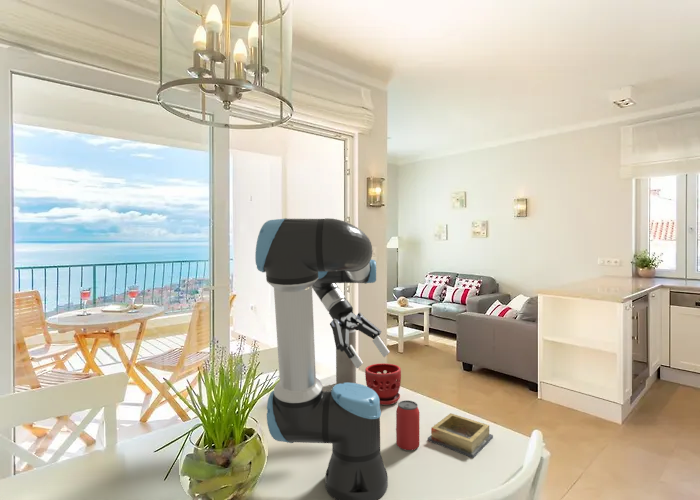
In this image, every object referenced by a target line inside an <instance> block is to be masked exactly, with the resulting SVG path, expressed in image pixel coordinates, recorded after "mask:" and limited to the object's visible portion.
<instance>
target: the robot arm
mask: <svg viewBox="0 0 700 500" xmlns="http://www.w3.org/2000/svg"><path fill="white" fill-rule="evenodd" d="M372 257H373V245H372V242H371V240H370V238H369V237H368V235H367V234H366V233H365V232H364V231H363V230H361V229H360V228H359V227H357V226H355V225H353V224H351V223H349V222H347V221H345V220H341V219H337V218H325V217H324V218H286V217H285V218H277V219H269V220H266V222H264V223H263V224H262V226H261V228H260V230H259V233H258V236H257V241H256V246H255V257H254V259H255V265H256V269H257V271H259V272H261V273H265V278H266V282H267V284H269V285H270V286H271V287H272V288H273V294H274V295H273V296H274V309H275V310H274V311H275V325H276V327H275V328H276V342H277V343H276V344H277V359H278V361H277V362H278V374H279V381H278V382H277V383H276V384H275V386H274V387H273V390H272V391H271V392H270V394H269V396H268V398H267V403H266V411H267V412H266V424H267V428H268V432H269V434H270V436H271V438H273V440H275V441H277V442H283V443H287V444H288V443H289V444H294V443H303V444H304V443H306V444H307V443H308V444H309V443H310V444H331V445H332V446H331V447H332V448H331V449H332V450H331V451H332V452H331V456H330V458H329V462H328V465H327V469H326V472H325V477H324V478H325V481H324V484H325V490H326V491H327V493H328V495H330V496H331V498H333V499H335V500H379V499H380V498H382V497H383V496H384V494H385V493H386V492H387V490H388V488H389V487H388V486H389V485H388V484H389V483H388V480H389V479H388V478H389V476H388V472H387V469H386V467H385V464H384V461H383V457H382V454H381V415H382V411H381V406H380V400H379V397H378V395H377V393H376V392H375V391H374V390H372V389H371V388H369V387H367V385H364V384H361V383H357V382H356V383H343V384H341V383H340V384H337V385H336V384H335V385H334V386H332V389H330V390H331V391H329V390H323V384H322V381H321V380H320V379H319V378H317V377H316V376H317V375H316V373H317V371H316V351H315V347H316V346H315V328H314V327H315V326H314V302H313V301H314V300H313V292H314V293H315V294H316V295H317V297H318V299H319V300H320V302H321V304H322V305H323V307H325V310H326V311H327V312H328V314H329V316H330V317H331V319H332V320H331V322H330V323H329V325H330V327H331V329H332V334H333V339H334V343H335V350H336V349H337V350H339V349H340V351H341V352H343V351H345V353H346V354H347V356H348V357H349V358H350V359H351V360H352V362H353V364H354V365H355V367H356V369H359V368H360V367H361V366H362V365H363V364H364V362H363V361H362V358H361V357H360V356H359V354H358V352H357V350H356V351H355V349H354V348H353V346H352V345H350V346H349V331H350V330H355V331H359V332H361V333H362V334H364V335H366V336H367V337H369V338H371V339H372V342H373V344H374V345H375V346H376V348H377V350H378V351H379V353H380V355H382V357H383V358H385V357H387V356H388V355H389V354H390V352H391V351H390V350H389V349H388V347H387V346H386V345H385V342H384V340H383V339H382V338H381V336H380V335H381V333H382V330H381V329H380V328H379V327H378V326H376V325H375V324H374V323H372V322H371V321H370V320H369V319H368V318H366V317H365V316H364V315H363V313H362V312H361V311H360V312H358V313H357V314H355V313H354V308H353V306H352V305H351V303H350V302H349V300H348V299H347V297H346V296H345V294H344V292H342V290H341V288H340V287H339V286H338V285H337V284H373V283H376V281H377V261H376V260H375V259H372ZM340 327H341V329H340ZM341 333H342V334H341Z"/></svg>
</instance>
